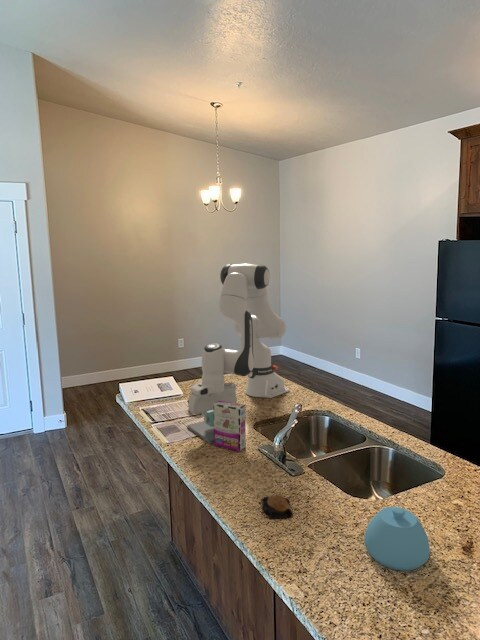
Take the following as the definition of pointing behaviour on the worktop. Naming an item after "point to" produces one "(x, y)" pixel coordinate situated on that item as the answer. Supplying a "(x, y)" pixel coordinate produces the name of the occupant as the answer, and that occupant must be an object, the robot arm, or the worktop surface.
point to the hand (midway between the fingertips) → (213, 419)
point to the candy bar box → (229, 425)
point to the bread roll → (276, 507)
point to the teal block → (210, 418)
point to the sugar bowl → (397, 539)
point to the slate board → (203, 431)
